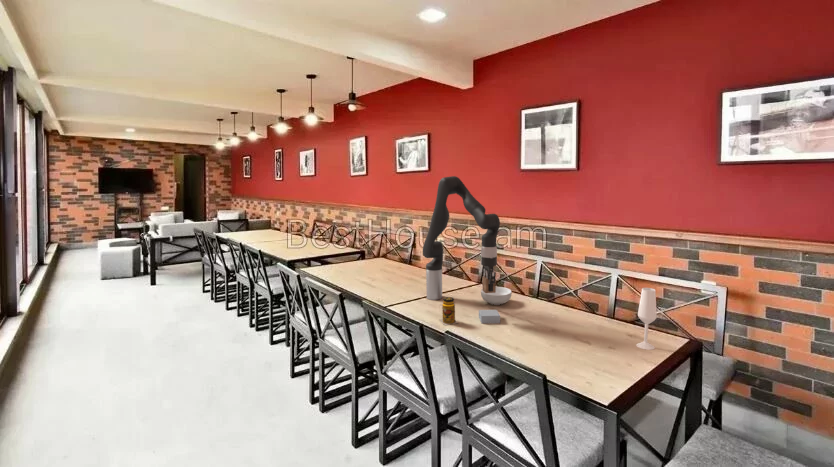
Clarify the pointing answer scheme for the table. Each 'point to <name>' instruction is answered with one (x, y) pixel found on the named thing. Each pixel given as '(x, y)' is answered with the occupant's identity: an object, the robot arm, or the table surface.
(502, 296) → the cereal bowl
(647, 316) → the champagne flute
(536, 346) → the table surface
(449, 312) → the condiment
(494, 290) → the walnut block
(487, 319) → the slate base
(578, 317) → the table surface
